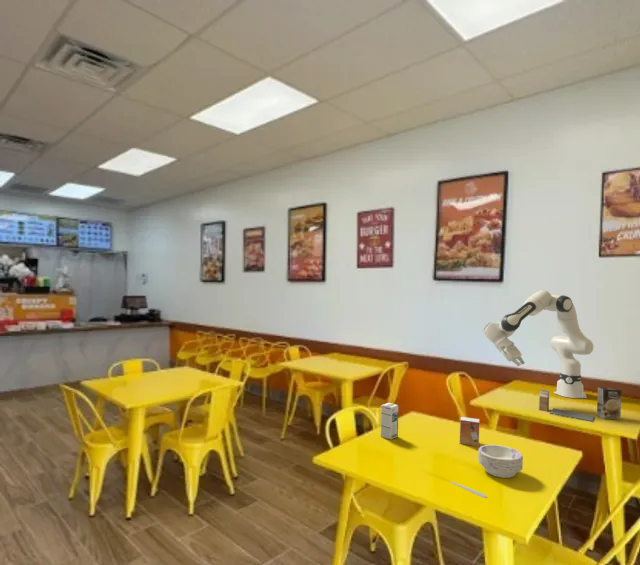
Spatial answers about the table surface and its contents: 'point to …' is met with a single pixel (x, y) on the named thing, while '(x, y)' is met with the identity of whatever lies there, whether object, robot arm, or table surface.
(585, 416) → the mat
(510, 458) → the paper bowls
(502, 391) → the table surface
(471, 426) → the small box
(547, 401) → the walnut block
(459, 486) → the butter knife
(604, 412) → the coffee box
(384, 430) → the syrup box
